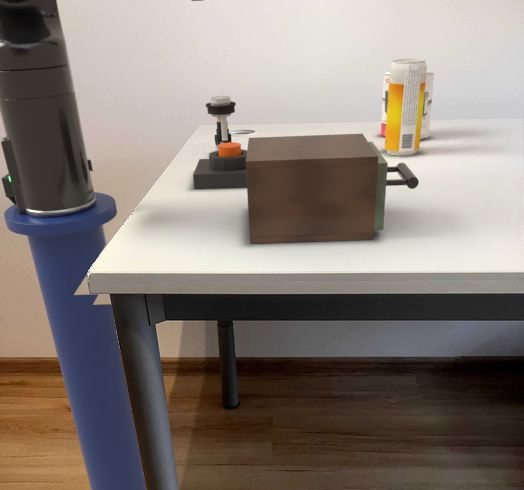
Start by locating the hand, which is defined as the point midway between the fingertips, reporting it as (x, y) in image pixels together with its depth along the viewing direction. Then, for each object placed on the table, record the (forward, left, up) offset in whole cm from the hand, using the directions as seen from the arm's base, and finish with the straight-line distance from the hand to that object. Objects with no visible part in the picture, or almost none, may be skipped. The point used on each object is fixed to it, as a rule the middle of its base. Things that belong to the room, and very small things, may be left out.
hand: (198, 0), depth 74 cm
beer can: (+32, +24, -25) cm, 47 cm away
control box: (+2, +10, -25) cm, 27 cm away
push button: (0, +26, -25) cm, 36 cm away
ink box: (+35, +37, -25) cm, 57 cm away
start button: (+2, +10, -21) cm, 24 cm away
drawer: (+17, -13, -24) cm, 32 cm away
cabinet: (+13, -13, -25) cm, 31 cm away
